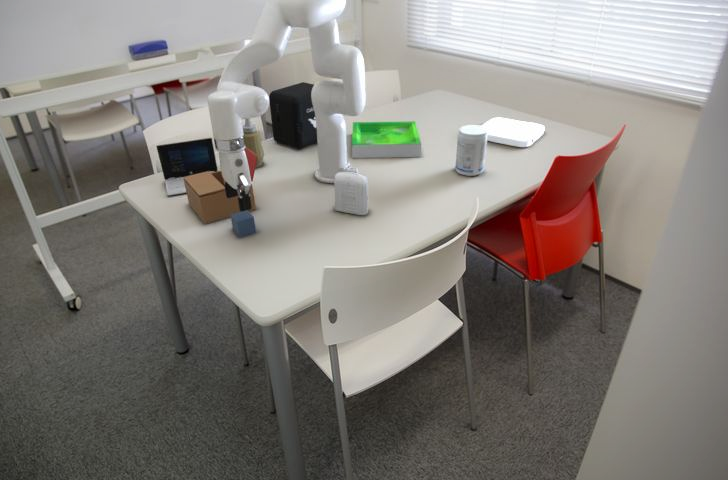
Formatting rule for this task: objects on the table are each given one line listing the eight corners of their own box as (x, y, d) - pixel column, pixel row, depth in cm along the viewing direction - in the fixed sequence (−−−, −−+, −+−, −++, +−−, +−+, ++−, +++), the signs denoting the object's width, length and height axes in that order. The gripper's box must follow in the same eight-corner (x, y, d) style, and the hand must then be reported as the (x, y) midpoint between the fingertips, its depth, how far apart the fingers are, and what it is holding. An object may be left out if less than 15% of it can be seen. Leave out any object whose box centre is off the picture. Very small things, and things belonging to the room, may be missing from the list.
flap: (232, 165, 160) (233, 165, 160) (251, 181, 150) (252, 181, 150) (237, 140, 157) (238, 141, 158) (256, 155, 147) (257, 156, 147)
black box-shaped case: (298, 152, 193) (294, 99, 182) (273, 143, 201) (267, 92, 190) (335, 137, 205) (333, 86, 194) (309, 130, 213) (306, 80, 202)
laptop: (167, 197, 163) (158, 158, 156) (165, 182, 173) (155, 145, 166) (224, 187, 168) (217, 149, 161) (218, 173, 178) (211, 137, 171)
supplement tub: (473, 163, 180) (478, 123, 172) (488, 174, 172) (494, 131, 164) (449, 168, 177) (453, 126, 169) (463, 178, 170) (468, 136, 162)
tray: (420, 156, 186) (421, 143, 184) (352, 157, 187) (351, 144, 184) (414, 133, 207) (415, 121, 204) (353, 134, 208) (353, 122, 205)
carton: (237, 191, 166) (233, 164, 160) (255, 209, 155) (251, 181, 150) (189, 204, 159) (182, 177, 153) (205, 224, 148) (198, 195, 143)
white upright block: (370, 210, 153) (370, 172, 146) (365, 217, 149) (365, 178, 142) (338, 205, 156) (337, 167, 149) (333, 211, 153) (331, 173, 146)
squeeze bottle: (260, 170, 180) (254, 119, 169) (239, 168, 181) (231, 118, 171) (268, 161, 186) (262, 112, 176) (247, 160, 188) (240, 111, 177)
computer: (493, 122, 216) (494, 116, 214) (545, 132, 205) (547, 125, 203) (471, 138, 201) (472, 131, 200) (526, 149, 190) (527, 142, 189)
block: (249, 225, 147) (246, 209, 144) (256, 232, 143) (253, 216, 141) (233, 230, 145) (230, 214, 142) (239, 237, 141) (236, 221, 138)
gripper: (257, 149, 125) (264, 211, 134) (231, 130, 137) (239, 189, 147) (227, 155, 122) (237, 219, 131) (204, 136, 134) (214, 195, 143)
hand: (238, 203), depth 139 cm, fingers open, 9 cm apart
